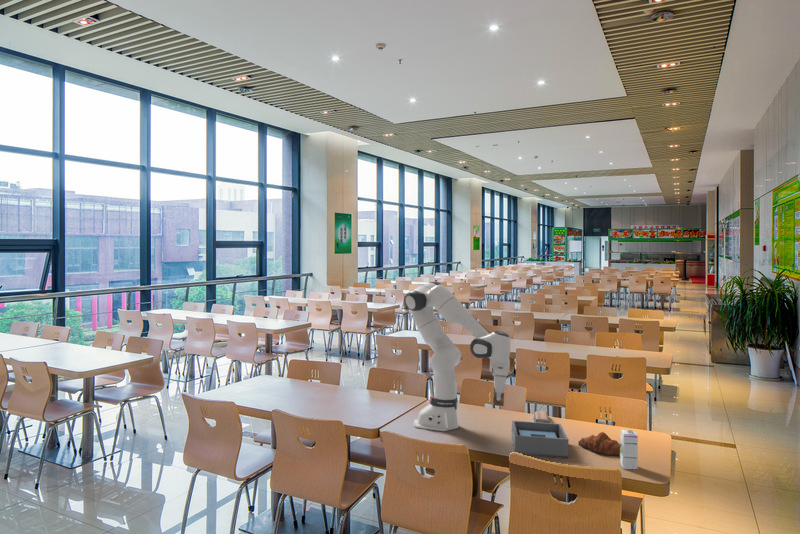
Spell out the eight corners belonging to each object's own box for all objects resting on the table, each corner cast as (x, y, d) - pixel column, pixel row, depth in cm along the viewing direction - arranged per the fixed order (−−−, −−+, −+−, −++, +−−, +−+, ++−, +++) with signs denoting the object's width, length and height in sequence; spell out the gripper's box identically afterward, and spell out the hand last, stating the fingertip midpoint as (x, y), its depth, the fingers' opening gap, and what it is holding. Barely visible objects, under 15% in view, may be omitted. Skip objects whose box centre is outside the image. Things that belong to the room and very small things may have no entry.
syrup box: (637, 470, 216) (639, 434, 215) (622, 469, 217) (623, 433, 217) (634, 465, 221) (635, 430, 221) (619, 464, 222) (620, 429, 222)
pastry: (613, 445, 246) (614, 428, 246) (629, 457, 231) (630, 439, 230) (577, 444, 245) (578, 427, 245) (590, 457, 230) (591, 438, 230)
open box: (514, 454, 230) (515, 435, 230) (511, 437, 252) (512, 420, 252) (567, 458, 227) (568, 439, 227) (559, 441, 249) (560, 423, 249)
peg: (493, 405, 240) (493, 389, 240) (492, 402, 244) (493, 387, 244) (503, 406, 239) (504, 390, 239) (503, 403, 244) (503, 387, 244)
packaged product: (553, 420, 267) (532, 418, 269) (553, 429, 267) (532, 428, 269) (550, 410, 285) (531, 408, 287) (550, 419, 285) (531, 417, 287)
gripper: (491, 362, 252) (490, 392, 253) (493, 372, 232) (491, 403, 232) (505, 363, 251) (504, 393, 252) (508, 373, 231) (506, 404, 231)
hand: (498, 398), depth 242 cm, fingers closed on peg, 4 cm apart
